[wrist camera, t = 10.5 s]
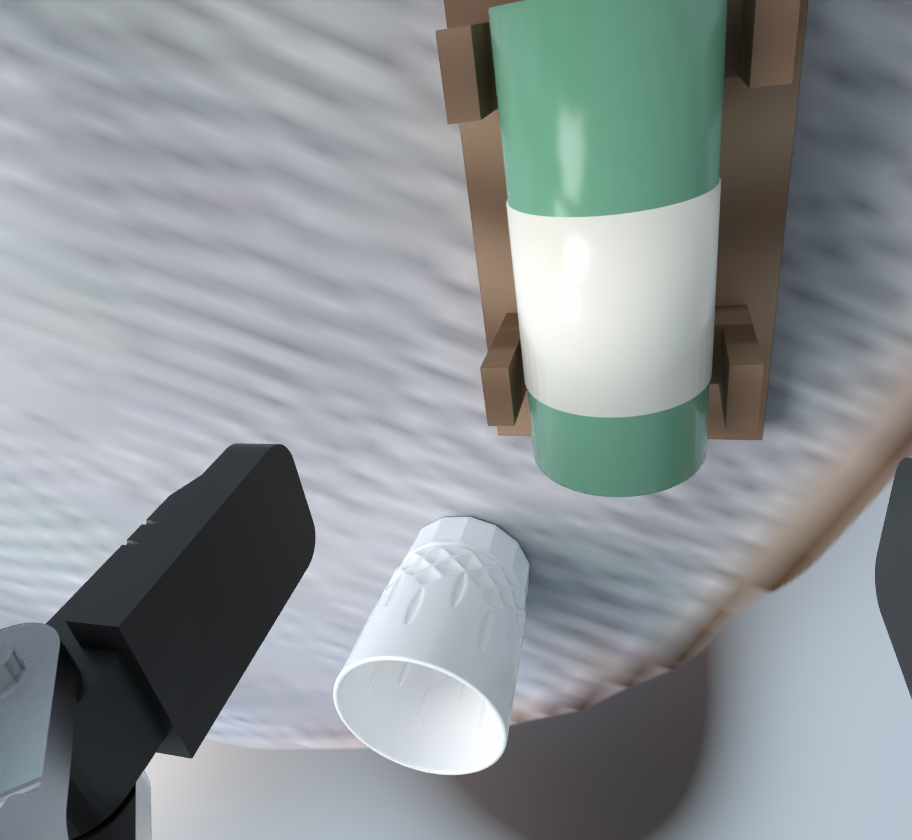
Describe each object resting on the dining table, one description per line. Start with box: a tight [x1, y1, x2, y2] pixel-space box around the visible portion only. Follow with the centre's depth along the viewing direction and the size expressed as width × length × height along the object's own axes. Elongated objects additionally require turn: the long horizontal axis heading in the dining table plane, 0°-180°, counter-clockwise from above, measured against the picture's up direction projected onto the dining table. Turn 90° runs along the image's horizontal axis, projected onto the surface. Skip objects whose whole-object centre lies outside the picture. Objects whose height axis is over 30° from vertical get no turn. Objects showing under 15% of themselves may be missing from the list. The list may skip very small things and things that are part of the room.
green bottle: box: [488, 0, 728, 497], centre depth 19 cm, size 20×6×6 cm, turn 8°
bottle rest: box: [436, 0, 808, 440], centre depth 23 cm, size 20×11×6 cm, turn 8°
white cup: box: [333, 517, 529, 775], centre depth 33 cm, size 8×8×10 cm
